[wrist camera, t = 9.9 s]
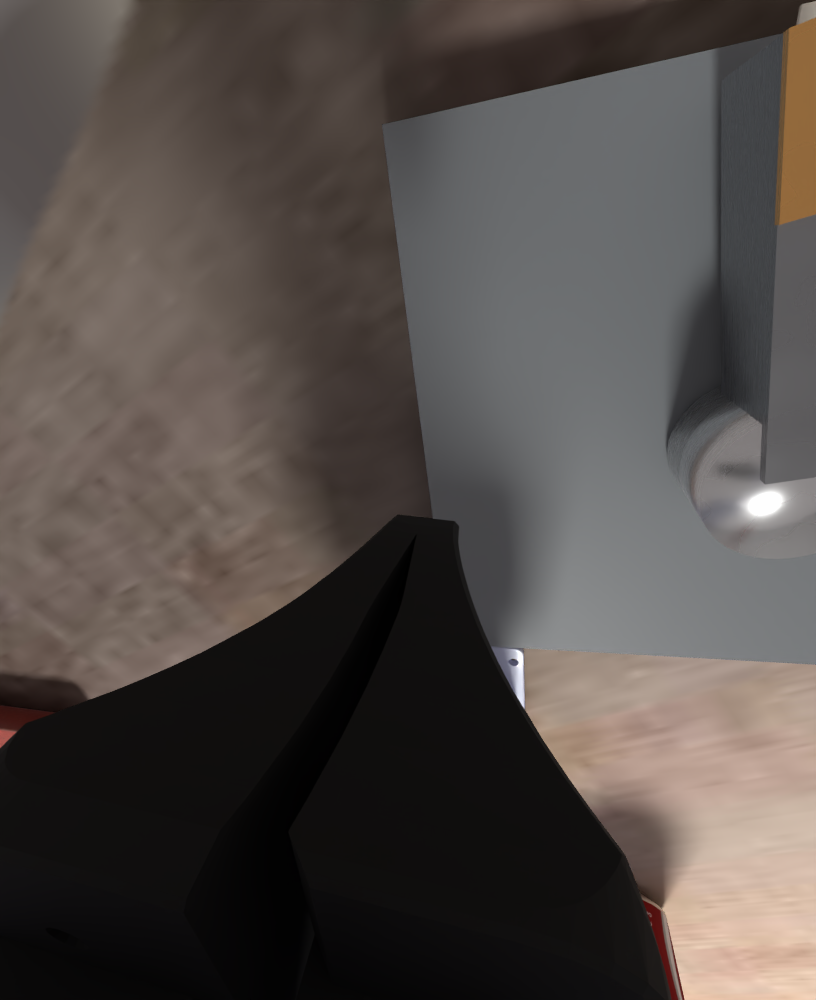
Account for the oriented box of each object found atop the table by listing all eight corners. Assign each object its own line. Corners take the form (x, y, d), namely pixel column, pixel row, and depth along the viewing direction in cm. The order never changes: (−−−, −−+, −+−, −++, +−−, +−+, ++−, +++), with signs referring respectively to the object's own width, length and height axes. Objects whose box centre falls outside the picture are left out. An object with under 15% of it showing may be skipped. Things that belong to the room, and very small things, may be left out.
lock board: (972, 644, 18) (1009, 677, 17) (452, 621, 23) (448, 645, 22) (1445, -125, 9) (1615, -190, 7) (392, 118, 14) (378, 105, 12)
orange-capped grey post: (871, 25, 10) (1034, -71, 7) (820, 491, 15) (901, 559, 12) (648, 111, 11) (698, 64, 8) (670, 512, 16) (706, 577, 13)
